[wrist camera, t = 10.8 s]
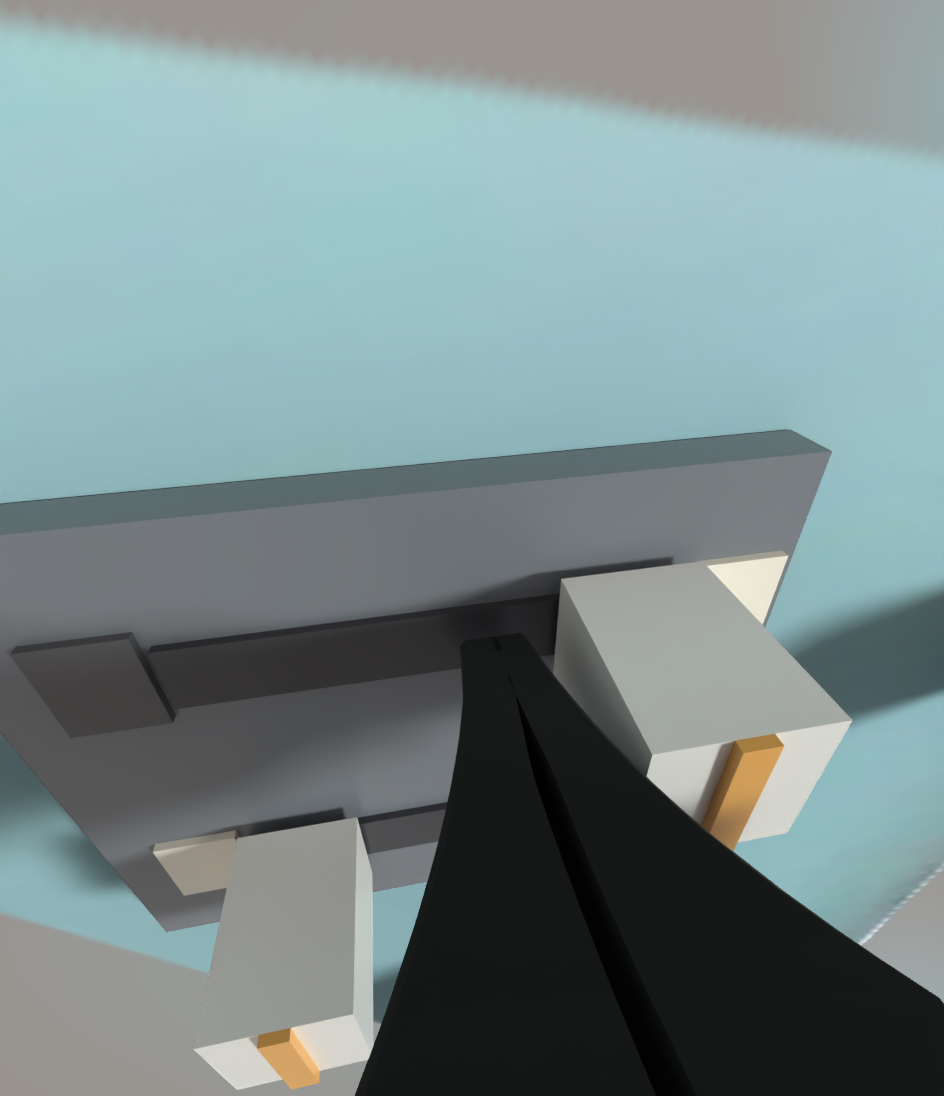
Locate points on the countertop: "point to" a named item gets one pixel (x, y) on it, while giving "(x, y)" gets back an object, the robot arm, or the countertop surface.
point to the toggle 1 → (292, 958)
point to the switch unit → (332, 634)
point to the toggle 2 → (697, 695)
